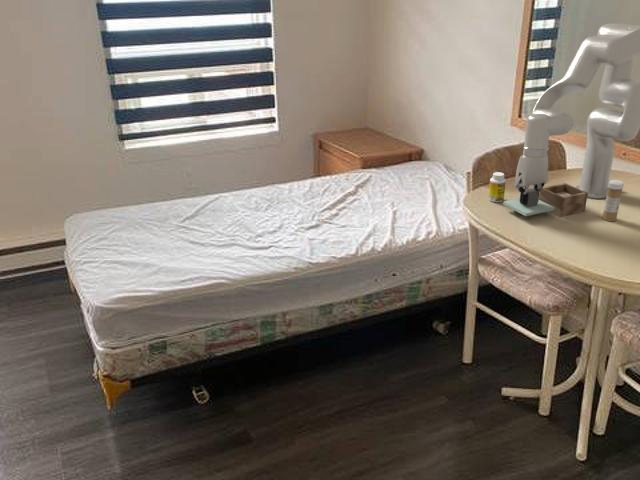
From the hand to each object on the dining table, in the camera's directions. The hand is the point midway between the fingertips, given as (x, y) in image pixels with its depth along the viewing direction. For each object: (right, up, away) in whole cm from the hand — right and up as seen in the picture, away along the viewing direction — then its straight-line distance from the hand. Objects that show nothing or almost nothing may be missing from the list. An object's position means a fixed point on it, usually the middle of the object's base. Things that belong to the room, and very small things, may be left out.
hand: (528, 202), depth 205 cm
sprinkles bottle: (+25, -6, -5) cm, 27 cm away
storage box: (+13, -2, +4) cm, 14 cm away
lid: (0, -3, +1) cm, 3 cm away
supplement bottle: (-7, +1, +14) cm, 16 cm away
